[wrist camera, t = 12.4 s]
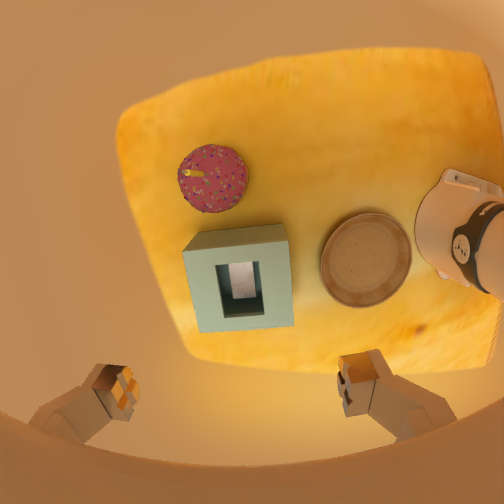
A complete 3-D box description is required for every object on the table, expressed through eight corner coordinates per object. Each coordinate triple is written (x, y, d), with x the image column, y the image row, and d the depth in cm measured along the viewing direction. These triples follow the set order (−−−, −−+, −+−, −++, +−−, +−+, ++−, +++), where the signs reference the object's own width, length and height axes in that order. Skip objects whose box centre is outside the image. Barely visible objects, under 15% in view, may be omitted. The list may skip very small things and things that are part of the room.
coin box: (282, 223, 40) (288, 240, 31) (288, 294, 43) (294, 325, 35) (197, 232, 40) (182, 251, 32) (210, 301, 44) (199, 332, 35)
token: (253, 248, 40) (252, 261, 36) (256, 281, 42) (256, 297, 37) (231, 250, 40) (228, 263, 36) (236, 283, 42) (233, 298, 37)
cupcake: (176, 185, 38) (144, 196, 27) (209, 134, 36) (188, 123, 25) (227, 218, 40) (213, 242, 28) (262, 168, 37) (263, 171, 26)
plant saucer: (372, 313, 44) (377, 321, 42) (298, 278, 42) (301, 285, 40) (419, 238, 40) (427, 243, 37) (348, 191, 38) (354, 193, 36)
